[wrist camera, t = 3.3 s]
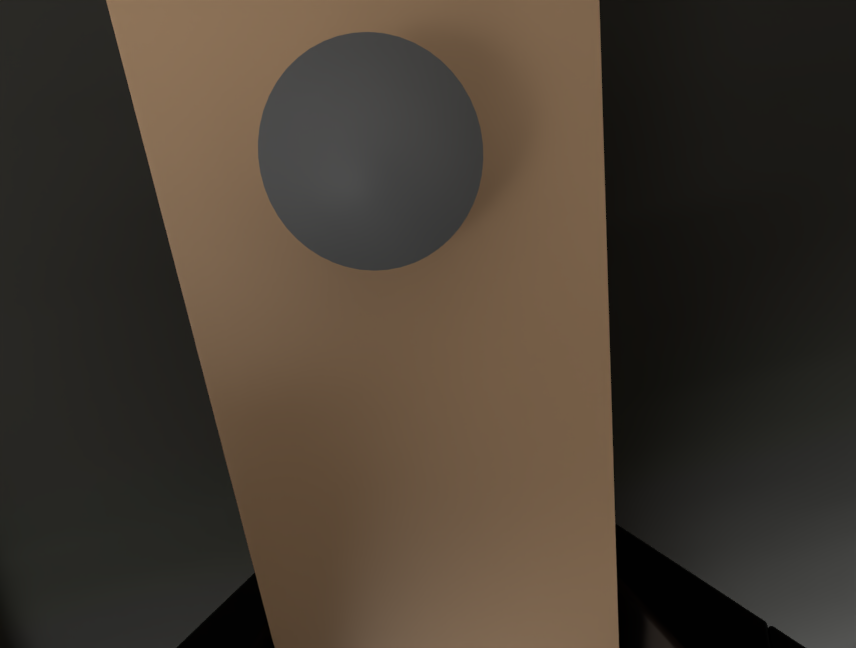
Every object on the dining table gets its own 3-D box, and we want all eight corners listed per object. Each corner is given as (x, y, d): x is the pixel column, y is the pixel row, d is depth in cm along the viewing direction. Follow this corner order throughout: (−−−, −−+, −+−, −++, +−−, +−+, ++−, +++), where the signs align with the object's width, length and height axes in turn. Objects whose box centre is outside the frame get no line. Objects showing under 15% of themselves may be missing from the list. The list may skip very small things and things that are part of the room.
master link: (559, 798, 11) (657, 1190, 7) (403, 817, 11) (394, 1221, 7) (496, -19, 7) (647, -462, 2) (245, 14, 7) (-69, -364, 2)
